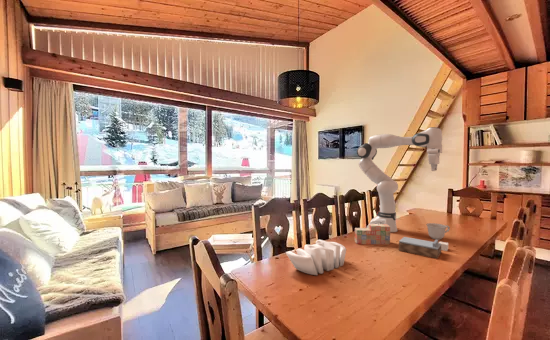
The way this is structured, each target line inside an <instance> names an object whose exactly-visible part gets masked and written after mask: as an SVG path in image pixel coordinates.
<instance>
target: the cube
mask: <svg viewBox="0 0 550 340" xmlns="http://www.w3.org/2000/svg"><path fill="white" fill-rule="evenodd" d="M438 243H441V251H444V252H448V251H449V242H444V241H438Z"/></svg>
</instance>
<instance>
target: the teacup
mask: <svg viewBox="0 0 550 340" xmlns="http://www.w3.org/2000/svg"><path fill="white" fill-rule="evenodd" d="M426 226H427V232H428V233H427V235H428V236H429V237H430V238H431V239H432V240H438V241H440V240H442V239H443V238H444V237H445V234H446V233H449V231H450V226H449V225H445V224H441V223H434V222H433V223H432V222H429V223H426Z"/></svg>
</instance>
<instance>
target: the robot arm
mask: <svg viewBox="0 0 550 340" xmlns="http://www.w3.org/2000/svg"><path fill="white" fill-rule="evenodd" d="M442 142H443V131H442V129H441V128H439V127H435V126H434V127H433V126H430V127H428V128H426V129H425V130H423V131H421V132H418V133H415V134H413V136H399V135H394V134H389V133H381V134H374V135H371V136H370V137H369V138H368V140H367V143H366V142H365V143H364V144H362V145H360V146H359V147H358V148H357V149H356V155H357V156H358V158H360V160H359V161H358V166H359V168H360V169H361V171H362V173H364V174H365V175H366V177H368V179H369V180H370V181H371V182H373V183H374V184H376V191H377V192H378V197H379V210H378V211H377V212H376V214H377V215H376V216H375V217H373V218H372V219H371V220H370V222H369V224H387V225H389V226H390V233H396V232H398V227H397V221H396V220H397V212H396V201H395V196H394V193H396V192H397V191H398V189H399V184H398V182H396V181H395V180H394V179H393V178H392V177H390V175H389V176H388V174H386V173H385V172H384V171H383V170H381V169H380V167H378V166H377V165H376V163H374V161H373V160H374V158H375V157H376V156H377V153H378V150H377V149H390V148H395V147H400V146H415V147H420V148H426V153H427V158H428V164H429V165H430V167H431V168H430V169H431V171H432V172H435V171H437V169H438V165H439V164H440V156H441V154H442V153H443V143H442ZM366 228H368V225H366Z"/></svg>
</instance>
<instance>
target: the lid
mask: <svg viewBox="0 0 550 340" xmlns="http://www.w3.org/2000/svg"><path fill="white" fill-rule="evenodd" d="M399 242H401V243H406V244H411V245H416V246H421V247H426V248H431V249H436V250H438V249H439V247H440V246H441V243H439V240H436V239H434V241H431V240H424V239H419V238H413V237H407V236H403V237H402V238H401V239H399V240H398V243H399Z"/></svg>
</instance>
